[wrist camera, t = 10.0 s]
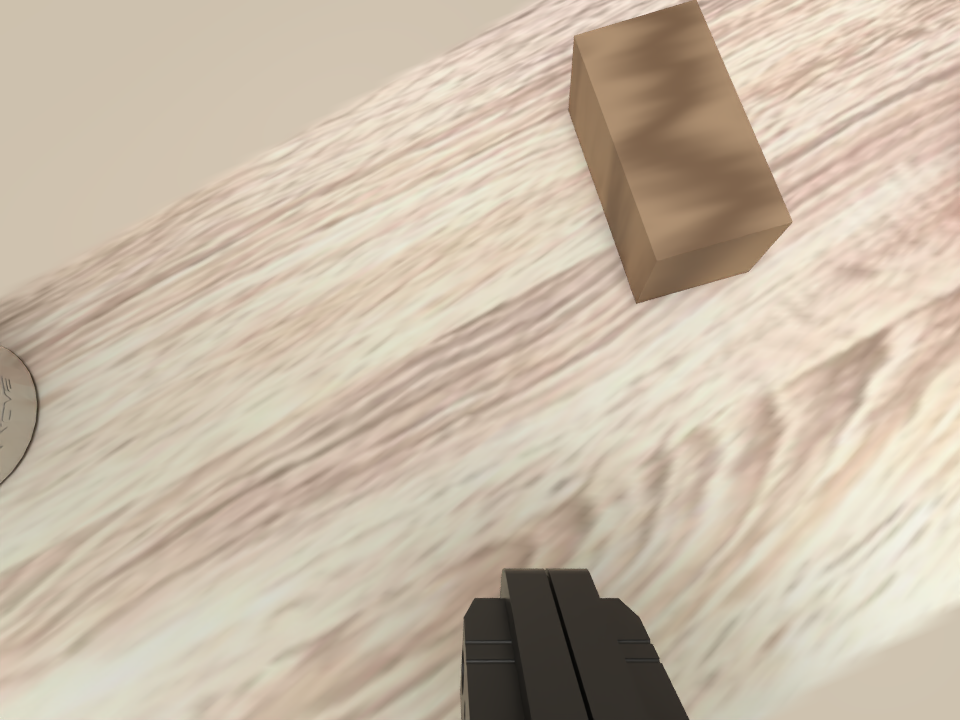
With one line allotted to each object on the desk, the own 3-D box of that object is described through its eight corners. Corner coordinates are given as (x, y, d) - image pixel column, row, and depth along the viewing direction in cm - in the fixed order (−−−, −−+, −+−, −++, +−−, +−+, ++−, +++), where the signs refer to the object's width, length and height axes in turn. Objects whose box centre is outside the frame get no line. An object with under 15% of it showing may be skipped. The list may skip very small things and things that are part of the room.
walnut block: (657, 261, 27) (574, 35, 30) (635, 304, 33) (568, 112, 36) (792, 221, 27) (696, -1, 30) (747, 273, 33) (670, 82, 35)
